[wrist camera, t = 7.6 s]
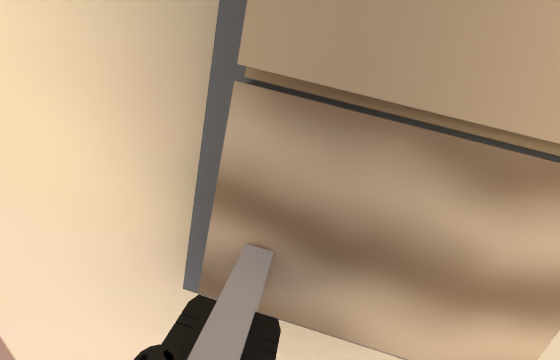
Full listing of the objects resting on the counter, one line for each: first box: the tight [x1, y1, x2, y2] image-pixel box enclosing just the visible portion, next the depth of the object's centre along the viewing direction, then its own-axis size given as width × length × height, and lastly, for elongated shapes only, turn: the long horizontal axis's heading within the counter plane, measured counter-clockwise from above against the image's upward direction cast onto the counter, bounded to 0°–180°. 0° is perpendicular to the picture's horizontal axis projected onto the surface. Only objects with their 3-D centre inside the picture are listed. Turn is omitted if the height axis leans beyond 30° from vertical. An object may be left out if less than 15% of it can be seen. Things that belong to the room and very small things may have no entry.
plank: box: [198, 81, 560, 360], centre depth 14 cm, size 12×18×2 cm, turn 77°
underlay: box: [183, 0, 560, 360], centre depth 14 cm, size 24×22×3 cm
